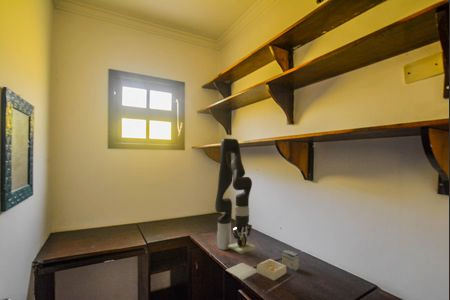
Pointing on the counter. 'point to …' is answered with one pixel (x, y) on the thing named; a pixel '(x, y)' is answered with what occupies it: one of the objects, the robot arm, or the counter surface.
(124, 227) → the counter surface
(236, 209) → the robot arm
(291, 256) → the medicine box
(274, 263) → the cream square tray
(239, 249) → the lid
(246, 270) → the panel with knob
